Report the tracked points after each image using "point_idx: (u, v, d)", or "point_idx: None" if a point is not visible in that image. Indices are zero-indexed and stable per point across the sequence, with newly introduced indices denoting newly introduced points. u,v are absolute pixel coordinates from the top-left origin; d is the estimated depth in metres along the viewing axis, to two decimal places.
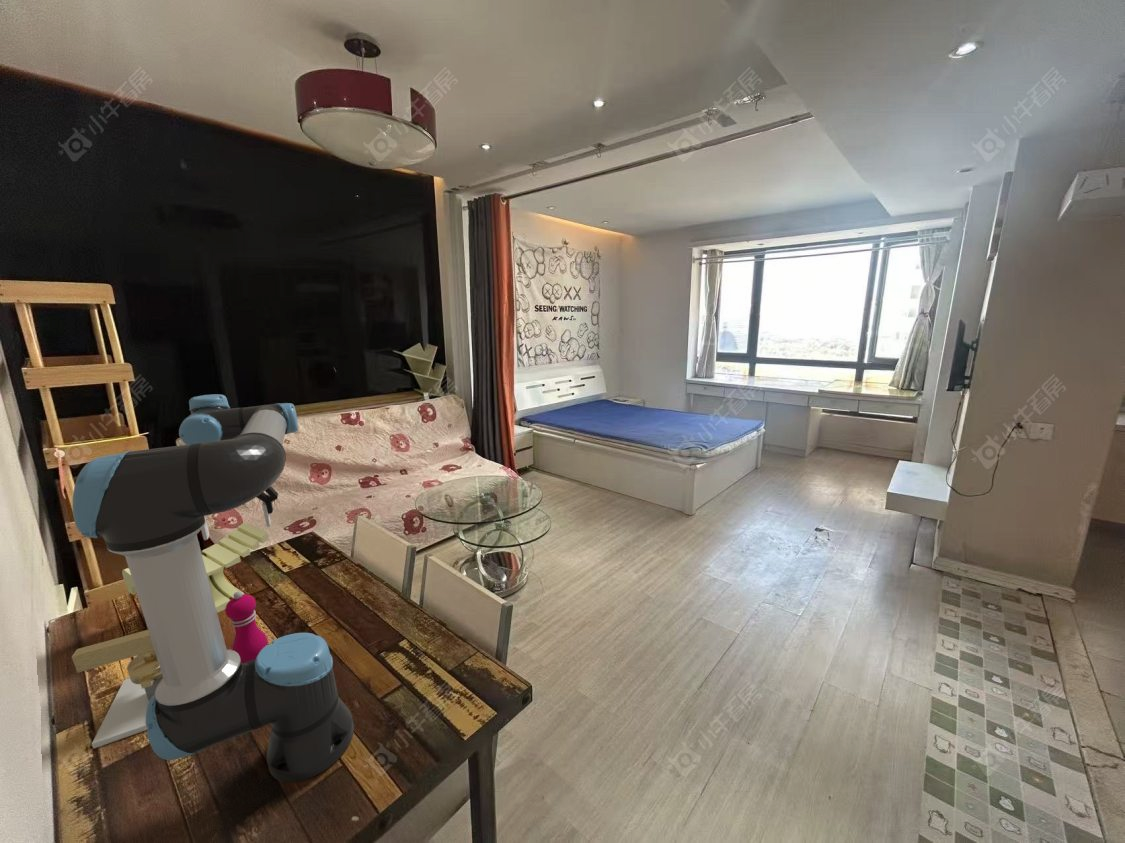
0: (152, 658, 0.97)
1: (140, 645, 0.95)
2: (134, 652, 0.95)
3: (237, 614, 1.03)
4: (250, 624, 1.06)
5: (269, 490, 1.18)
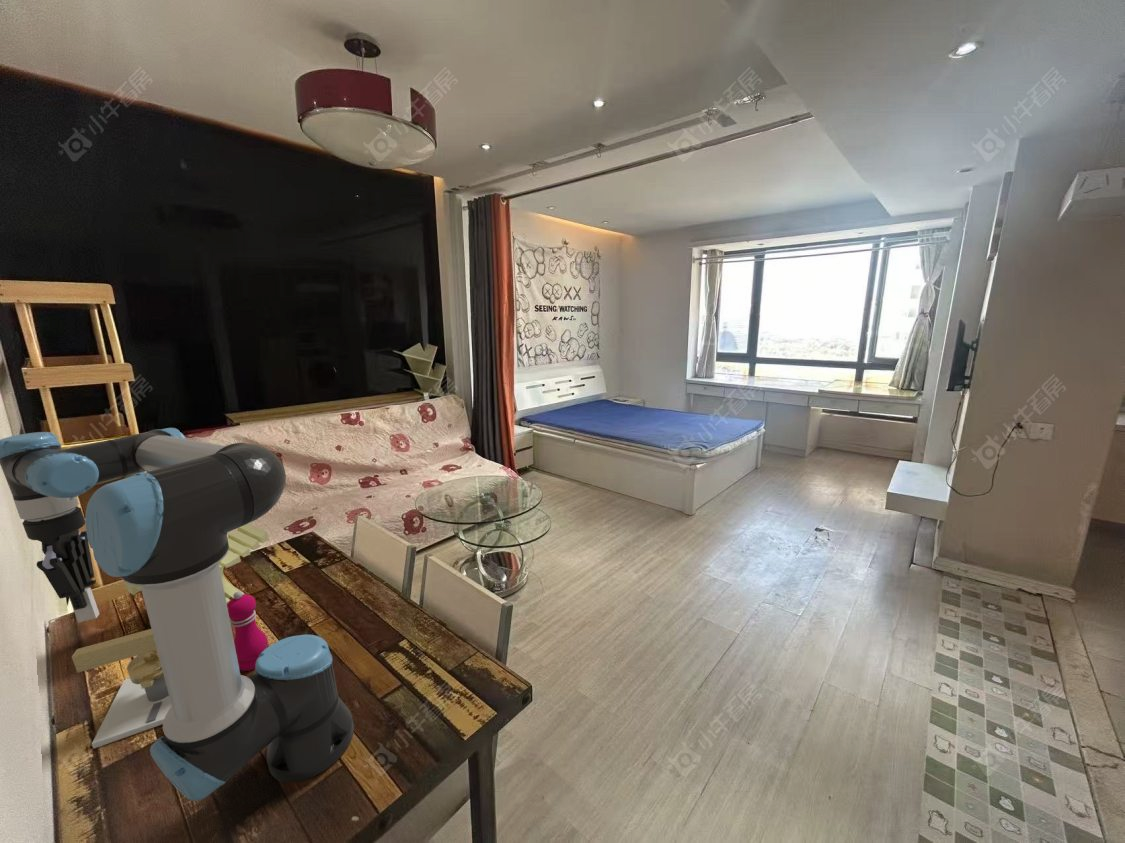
0: (152, 658, 0.97)
1: (140, 645, 0.95)
2: (134, 652, 0.95)
3: (237, 614, 1.03)
4: (250, 624, 1.06)
5: None
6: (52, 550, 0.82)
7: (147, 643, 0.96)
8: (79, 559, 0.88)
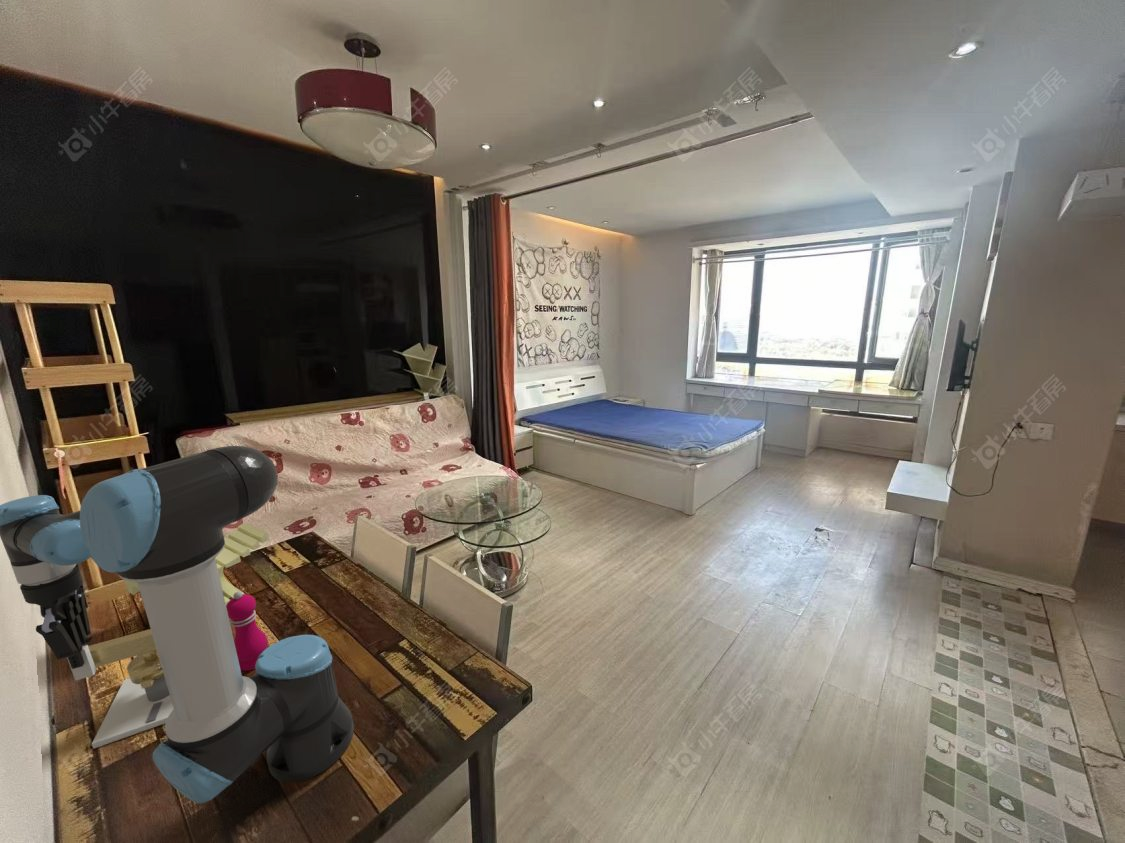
0: (152, 658, 0.97)
1: (140, 645, 0.95)
2: (134, 652, 0.95)
3: (237, 614, 1.03)
4: (250, 624, 1.06)
5: None
6: (51, 613, 0.82)
7: (147, 643, 0.96)
8: (76, 617, 0.88)
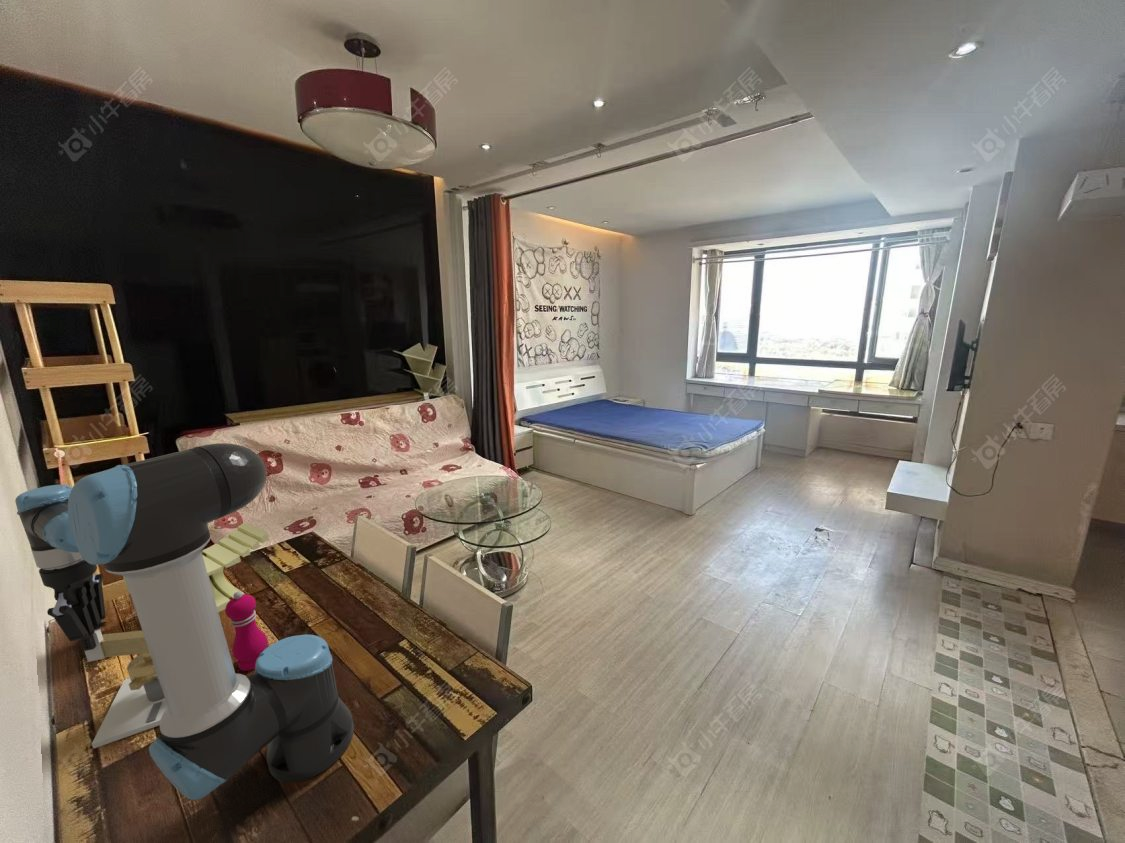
0: (150, 659, 0.97)
1: (138, 645, 0.95)
2: (133, 650, 0.96)
3: (237, 614, 1.03)
4: (250, 624, 1.06)
5: None
6: (63, 597, 0.87)
7: (144, 644, 0.96)
8: (90, 602, 0.93)
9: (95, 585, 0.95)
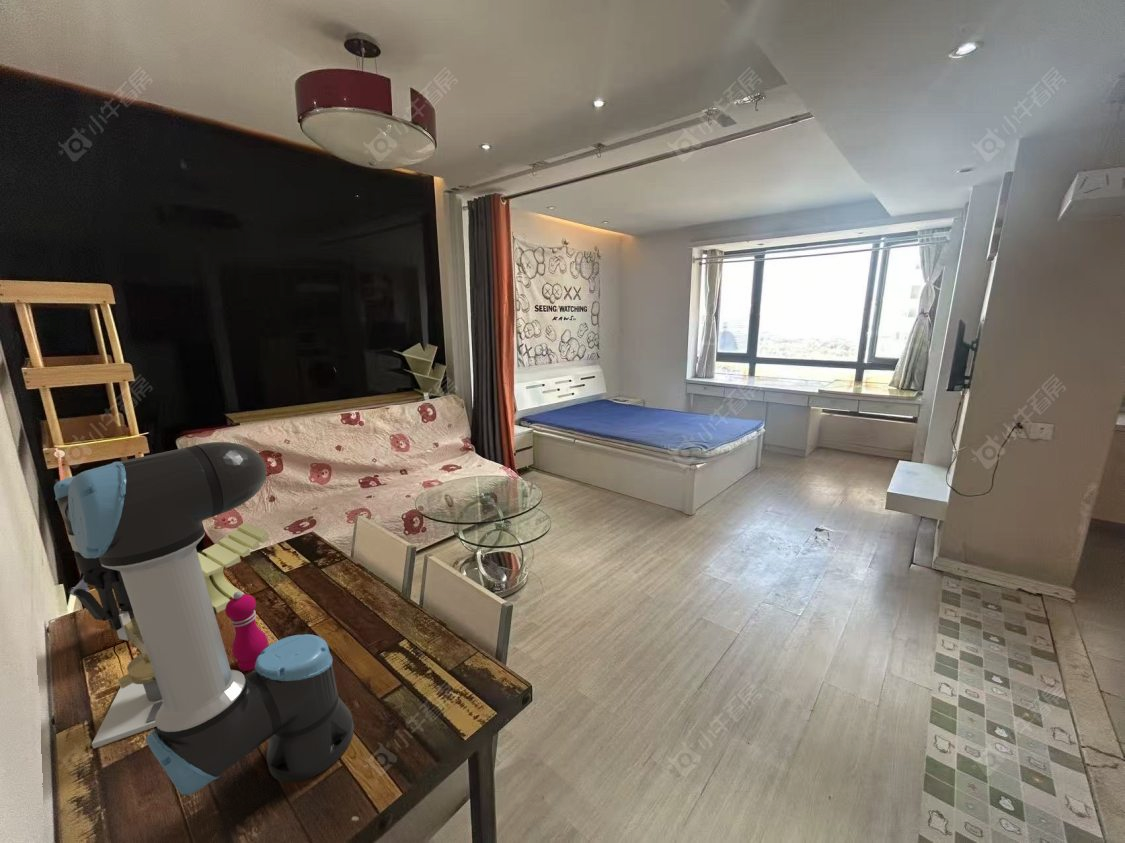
0: (145, 660, 0.97)
1: (138, 643, 0.96)
2: (137, 645, 0.97)
3: (237, 614, 1.03)
4: (250, 624, 1.06)
5: None
6: (83, 580, 0.92)
7: (140, 645, 0.95)
8: (120, 586, 0.98)
9: None
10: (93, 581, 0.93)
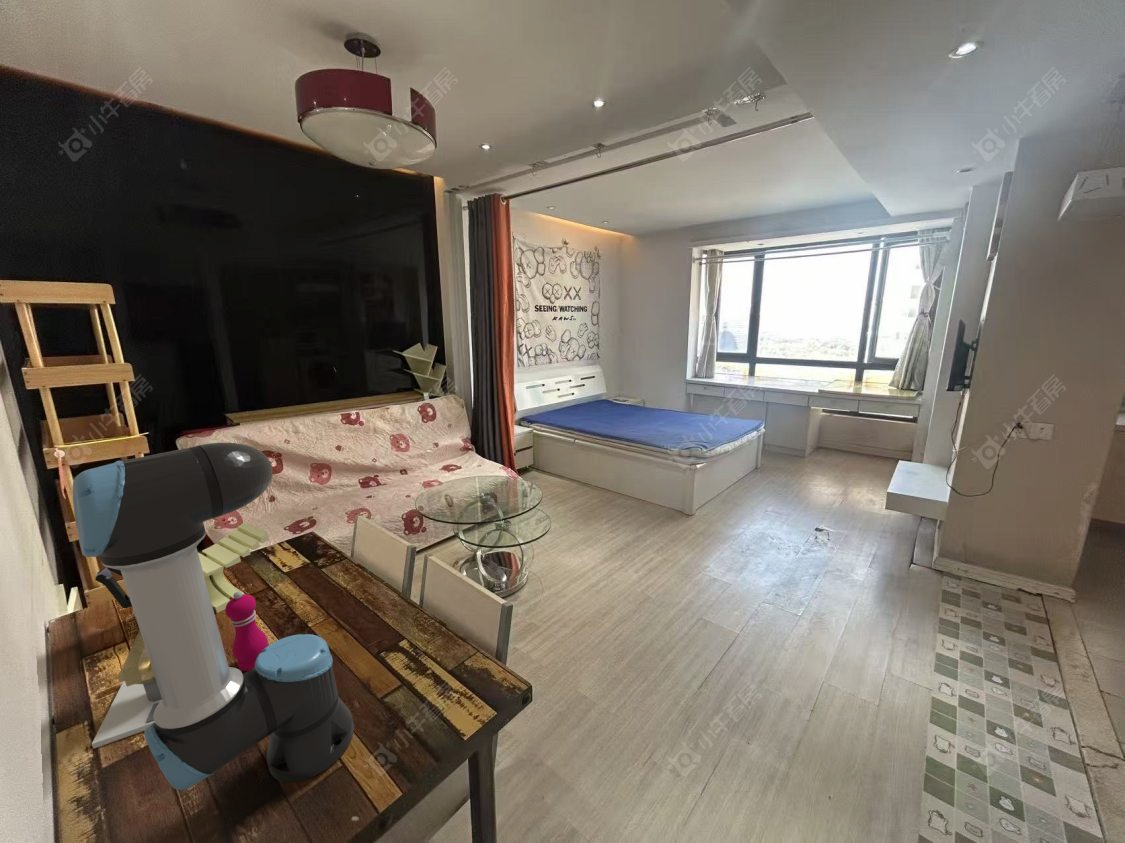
0: None
1: None
2: None
3: (237, 614, 1.03)
4: (250, 624, 1.06)
5: None
6: (107, 567, 0.97)
7: None
8: None
9: None
10: (114, 570, 0.97)
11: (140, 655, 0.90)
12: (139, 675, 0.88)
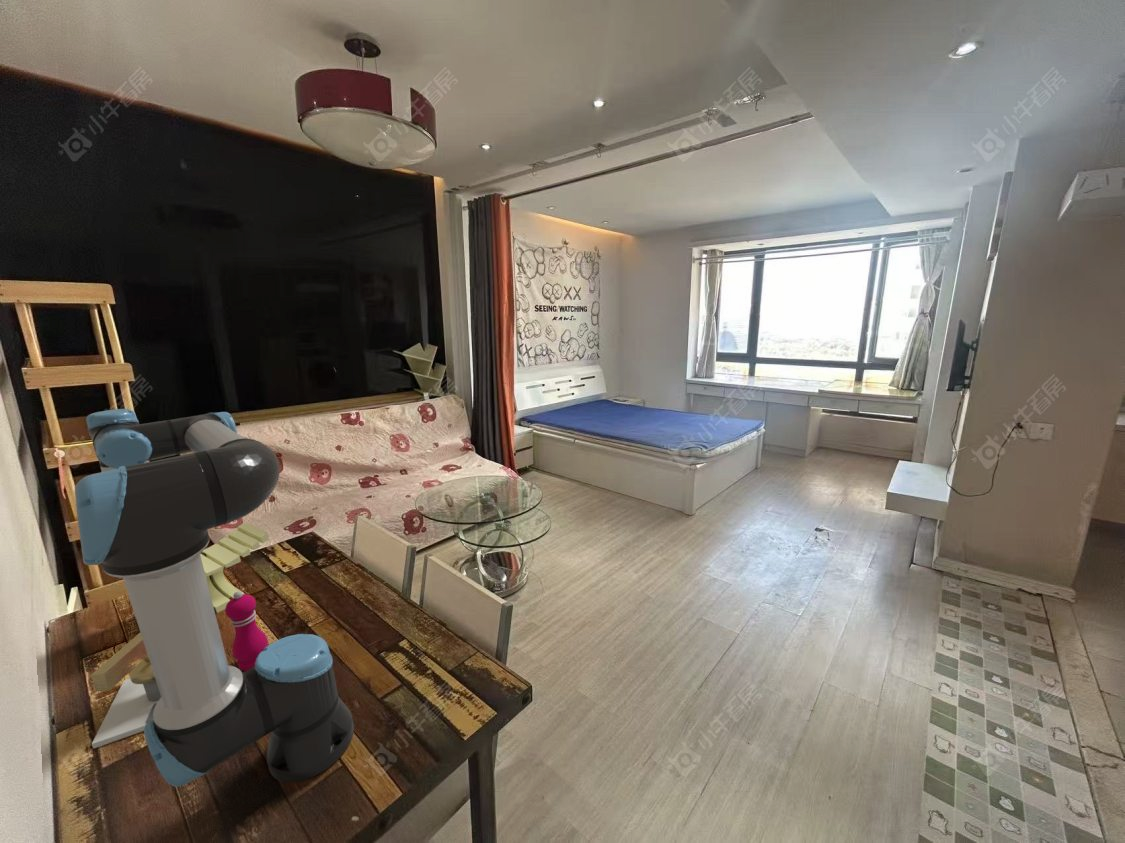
0: None
1: None
2: None
3: (237, 614, 1.03)
4: (250, 624, 1.06)
5: None
6: None
7: None
8: None
9: None
10: None
11: (117, 661, 0.89)
12: (106, 684, 0.86)
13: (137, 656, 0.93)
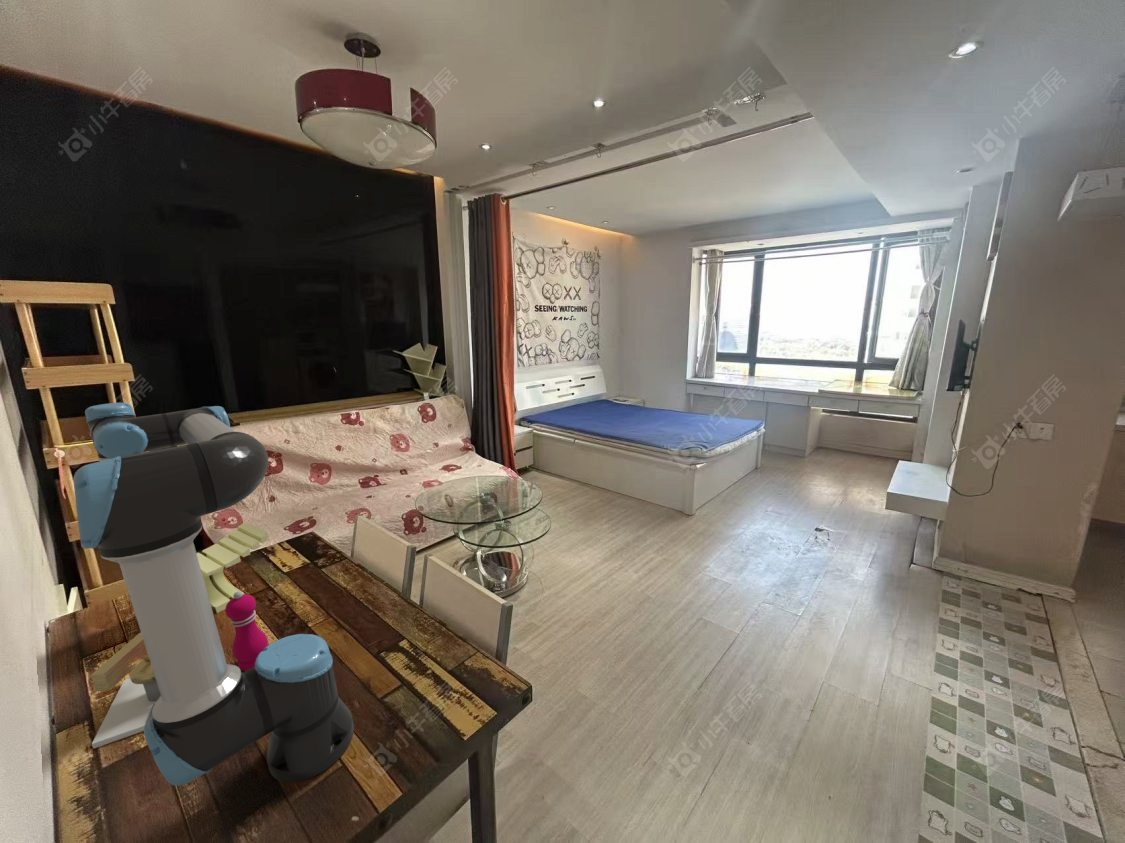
0: None
1: None
2: None
3: (237, 614, 1.03)
4: (250, 624, 1.06)
5: None
6: None
7: None
8: None
9: None
10: None
11: (117, 661, 0.89)
12: (106, 684, 0.86)
13: (137, 656, 0.93)
